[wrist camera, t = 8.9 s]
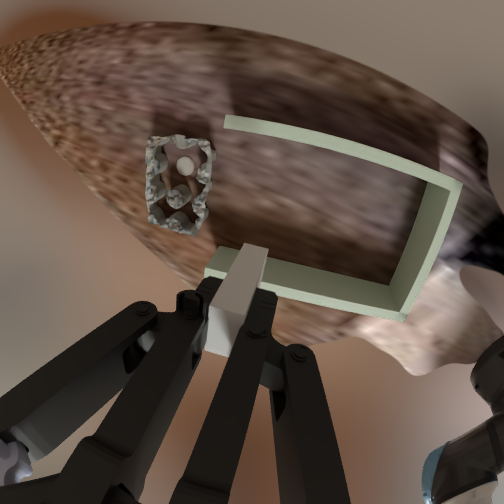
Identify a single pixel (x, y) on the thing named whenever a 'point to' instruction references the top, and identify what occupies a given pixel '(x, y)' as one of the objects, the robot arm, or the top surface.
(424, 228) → the u-shaped frame
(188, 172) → the egg carton
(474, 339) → the top surface
